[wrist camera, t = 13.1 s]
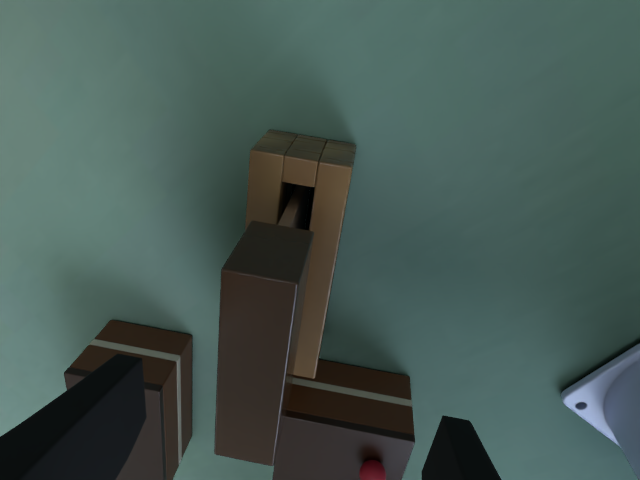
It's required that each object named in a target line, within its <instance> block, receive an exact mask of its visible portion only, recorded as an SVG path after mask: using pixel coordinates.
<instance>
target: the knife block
mask: <svg viewBox="0 0 640 480" xmlns="http://www.w3.org/2000/svg"><path fill="white" fill-rule="evenodd" d="M355 152H356V145H355V144H351V143H345V142H339V141H334V140H328V141H327V140H326V139H322V138H316V137H311V136H305V135H297V134H293V133H287V132H281V131H275V130H268V132H267V133H266V134H265V135H264V136H263V137H262V138H261V139H260V140H259V141H258V142H257V143H256V144H255V146H254V147H253V148H252V149H251V150H250V161H249V177H248V192H247V208H246V224H245V230H246V229H247V227H248V225H249V224H250V222H251V221H259V222H265V223H270V224H276V225H278V223H279V221H280V219H281V217H282V215H283V213H284V211H285V209H286V207H287V204H288V202H289V200H290V198H291V191H292V184H297V185H303V186H308V187H315V190H314V197H313V204H312V211H311V218H310V226H309V231H313V232H314V239H313V245H312V252H311V259H310V266H309V272H308V279H307V286H306V293H305V300H304V306H303V313H302V320H301V327H300V334H299V340H298V347H297V354H296V361H295V367H294V374H293V375H297V376H302V377H307V378H312V379H314V378H315V376H316V371H317V365H318V359H319V354H320V348H321V343H322V337H323V331H324V326H325V320H326V315H327V309H328V303H329V298H330V292H331V287H332V281H333V275H334V270H335V264H336V259H337V253H338V247H339V242H340V236H341V231H342V225H343V219H344V214H345V208H346V203H347V197H348V191H349V186H350V180H351V175H352V169H353V163H354V158H355Z"/></svg>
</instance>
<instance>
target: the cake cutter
mask: <svg viewBox="0 0 640 480" xmlns="http://www.w3.org/2000/svg"><path fill="white" fill-rule="evenodd" d="M310 189H311V187H308V186H303V185H297V186H296V188H295V190H294V192H293V194H292V196H291V198H290V200H289V202H288V204H287V207H286V209H285V211H284V213H283V215H282V217H281V219H280V221H279V223H278V225H276V224H270V223H265V222H259V221H251V222H250V224H249V225H248V227H247V229H246V230H245V232H244V234H243V235H242V237H241V238H240V240H239V242H238V243H237V245H236V247H235V248H234V250H233V251H232V253H231V255H230V256H229V258H228V259H227V261H226V263H225V264H224V266H223V268H222V269H221V289H220V316H219V342H218V368H217V395H216V421H215V447H214V454H216V455H220V456H225V457H229V458H234V459H239V460H244V461H249V462H254V463H259V464H264V465H269V466H273V465H274V463H275V459H276V455H277V451H278V446H279V442H280V438H281V434H282V429H283V425H284V421H285V417H286V412H287V408H288V404H289V400H290V395H291V388H292V381H293V374H294V367H295V361H296V354H297V347H298V340H299V334H300V327H301V320H302V313H303V306H304V300H305V293H306V286H307V279H308V272H309V266H310V259H311V252H312V245H313V239H314V232H313V231H309V230H305V226H306V219H307V211H308V204H309V197H310Z"/></svg>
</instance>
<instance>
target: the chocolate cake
mask: <svg viewBox="0 0 640 480" xmlns="http://www.w3.org/2000/svg"><path fill="white" fill-rule="evenodd" d="M414 443H415V436H414V424H413V411H412V401H411V388H410V377H409V376H404V375H399V374H393V373H388V372H383V371H378V370H372V369H367V368H362V367H356V366H351V365H346V364H341V363H335V362H330V361H325V360H320V359H318V365H317V371H316V376H315V378H314V379H312V378H307V377H302V376H297V375H293V381H292V388H291V395H290V400H289V404H288V408H287V412H286V417H285V421H284V425H283V429H282V434H281V438H280V442H279V446H278V451H277V455H276V459H275V464H274V472H273V479H272V480H402V477H403V474H404V471H405V469H406V466H407V463H408V460H409V457H410V455H411V452H412V449H413V446H414Z"/></svg>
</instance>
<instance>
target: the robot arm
mask: <svg viewBox="0 0 640 480" xmlns="http://www.w3.org/2000/svg"><path fill="white" fill-rule="evenodd" d="M561 399H562V401H563V403H564V404H565V405H566V406H567V407H568V408H570V409H571V410H572V411H574V412H575V413H576V414H578V415H579V416H580V417H581V418H583V419H584V420H585V421H587V422H588V423H589V424H591V425H592V426H593V427H595V428H596V429H597V430H598V431H600V432H601V433H602V434H604V435H605V436H606V437H608V438H609V439H610V440H612V441H613V442H614V443H616V444H617V445H618V446H619V447H621V449H622V451H623V453H624V454H625V456H626V458H627V460H628V462H629V464H630V465H631V467H632V469H633V471H634V473H635V474H636V476H637V478H638V480H640V343H639V344H637V345H636V346H634V347H633V348H631V349H629V350H628V351H626V352H625V353H623V354H621V355H620V356H618V357H617V358H615V359H613V360H612V361H610V362H609V363H607V364H605V365H604V366H602V367H600V368H599V369H597V370H596V371H594V372H592V373H591V374H589V375H588V376H586V377H584V378H583V379H581V380H580V381H578V382H576V383H575V384H573V385H572V386H570V387H568V388H567V389H565V390H564V391H563V392H562V393H561ZM579 402H581V403H579ZM146 418H147V416H146V403H145V389H144V376H143V363H142V358H139V357H134V356H128V355H123V354H116V355H115V356H113V357H112V358H110V359H109V360H108V361H106V362H105V363H104V364H102V365H101V366H99V367H98V368H97V369H95V370H94V371H93V372H91V373H90V374H89V375H87V376H86V377H85V378H83V379H82V380H81V381H79V382H78V383H77V384H75V385H74V386H72V387H71V388H70V389H68V390H67V391H66V392H64V393H63V394H62V395H60V396H59V397H57V398H56V399H55V400H53V401H52V402H50V403H49V404H48V405H46V406H45V407H43V408H42V409H40V410H39V411H38V412H36V413H35V414H33V415H32V416H31V417H29V418H28V419H26V420H25V421H23V422H22V423H21V424H19V425H18V426H16V427H15V428H13V429H12V430H10V431H8V432H7V433H5V434H4V435H2V436H1V437H0V480H116V478H117V477H118V475H119V473H120V472H121V470H122V468H123V466H124V465H125V463H126V461H127V459H128V457H129V455H130V453H131V451H132V449H133V447H134V445H135V442H136V440H137V438H138V436H139V434H140V431H141V429H142V427H143V425H144V422H145V420H146ZM422 480H501V478H500V476H499V475H498V473H497V471H496V469H495V467H494V465H493V464H492V462H491V460H490V458H489V456H488V454H487V452H486V450H485V448H484V447H483V445H482V443H481V441H480V439H479V437H478V435H477V433H476V431H475V429H474V427H473V425H472V424H471V422H470V421H469V420H464V419H459V418H453V417H448V416H442V419H441V422H440V424H439V427H438V430H437V432H436V435H435V438H434V440H433V443H432V446H431V448H430V451H429V454H428V456H427V459H426V462H425V464H424V467H423V470H422Z"/></svg>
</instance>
